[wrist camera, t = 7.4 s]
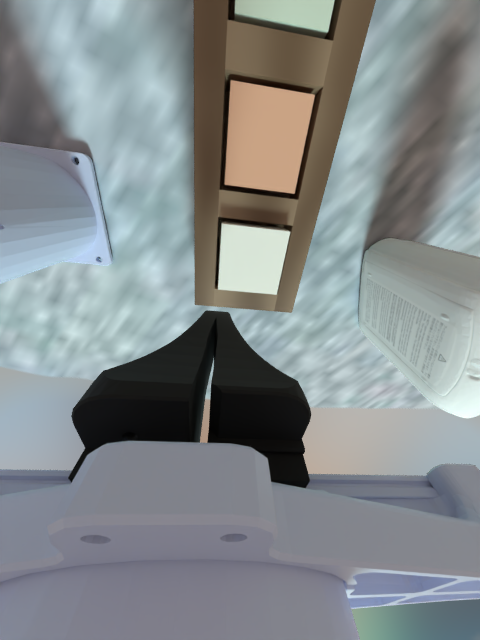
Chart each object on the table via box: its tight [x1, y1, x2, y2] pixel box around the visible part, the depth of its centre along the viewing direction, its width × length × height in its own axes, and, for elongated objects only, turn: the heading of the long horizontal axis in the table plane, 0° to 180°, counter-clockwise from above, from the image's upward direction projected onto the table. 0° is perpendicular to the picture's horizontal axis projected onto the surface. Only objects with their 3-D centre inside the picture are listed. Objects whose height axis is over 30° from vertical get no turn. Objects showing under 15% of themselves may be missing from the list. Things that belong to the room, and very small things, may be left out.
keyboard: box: [194, 0, 376, 313], centre depth 12 cm, size 8×28×4 cm, turn 174°
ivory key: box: [218, 221, 290, 295], centre depth 15 cm, size 4×4×2 cm
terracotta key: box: [225, 80, 315, 195], centre depth 12 cm, size 4×4×2 cm
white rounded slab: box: [359, 238, 480, 418], centre depth 16 cm, size 10×4×12 cm, turn 14°
